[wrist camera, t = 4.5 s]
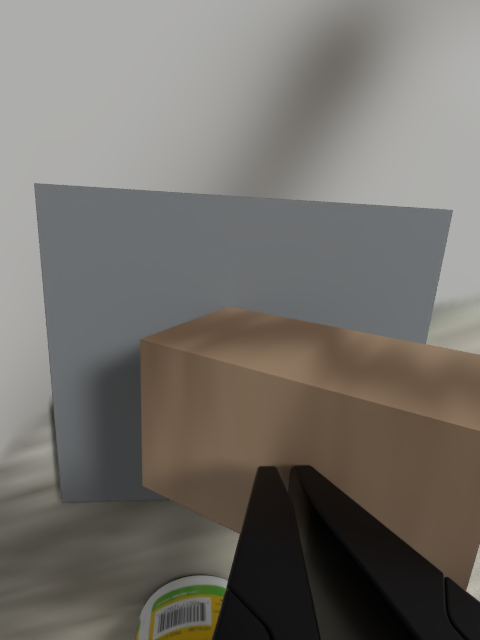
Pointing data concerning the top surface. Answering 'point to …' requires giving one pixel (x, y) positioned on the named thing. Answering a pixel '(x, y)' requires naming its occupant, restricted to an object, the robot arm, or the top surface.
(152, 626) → the supplement bottle
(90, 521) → the top surface
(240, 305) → the gray flat panel
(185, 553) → the top surface
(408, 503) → the walnut block
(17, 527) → the top surface
